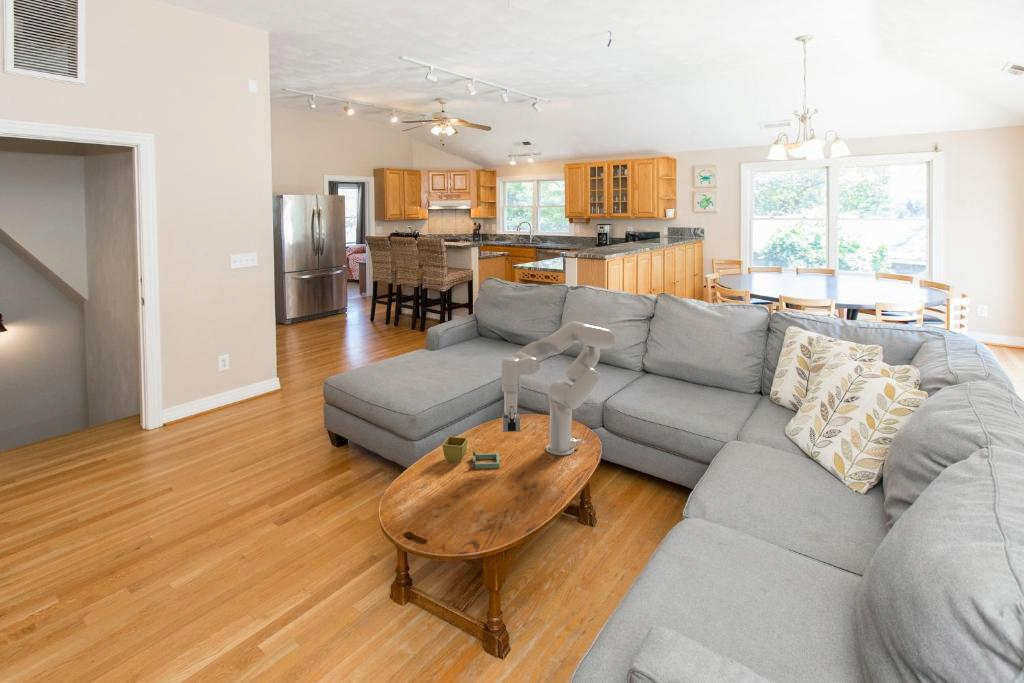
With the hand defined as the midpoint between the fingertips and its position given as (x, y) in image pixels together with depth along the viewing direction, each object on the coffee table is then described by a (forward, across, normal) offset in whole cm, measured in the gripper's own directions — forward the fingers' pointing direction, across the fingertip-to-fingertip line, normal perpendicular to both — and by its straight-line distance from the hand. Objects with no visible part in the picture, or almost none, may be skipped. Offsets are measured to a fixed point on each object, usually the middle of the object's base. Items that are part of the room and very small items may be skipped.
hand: (511, 427), depth 239 cm
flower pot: (+15, -2, -24) cm, 28 cm away
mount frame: (+15, +1, -11) cm, 19 cm away
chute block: (+1, 0, 0) cm, 1 cm away
